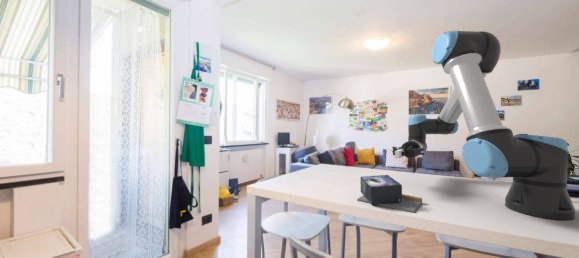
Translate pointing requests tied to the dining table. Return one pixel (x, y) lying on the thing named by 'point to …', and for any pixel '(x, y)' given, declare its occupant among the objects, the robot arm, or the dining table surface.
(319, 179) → the dining table surface
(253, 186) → the dining table surface
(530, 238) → the dining table surface
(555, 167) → the robot arm
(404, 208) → the grey mat
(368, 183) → the small box
